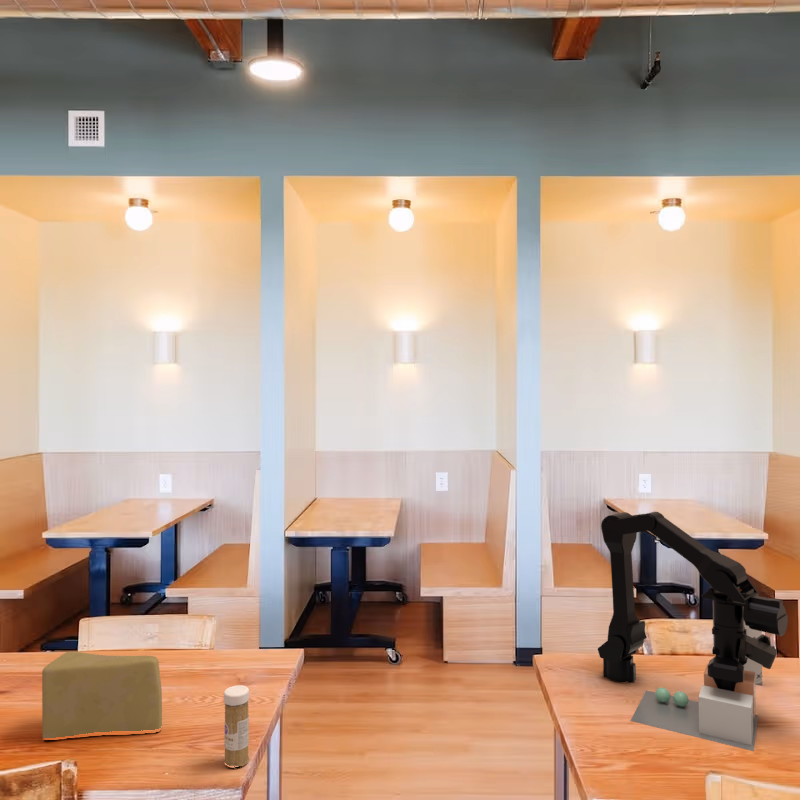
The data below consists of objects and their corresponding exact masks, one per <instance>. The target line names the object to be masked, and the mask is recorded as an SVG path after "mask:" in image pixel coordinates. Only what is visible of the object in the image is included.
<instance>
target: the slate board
mask: <svg viewBox="0 0 800 800" xmlns="http://www.w3.org/2000/svg"><path fill="white" fill-rule="evenodd" d="M655 693H656V691H651V690H645V692H644V693H643V696H642V698H641V699H640V701H639V704H638V706H637V707H636V708H635V711H634V713H633V715H632V717H631V719H630V722H633V723H638V724H642V725H645V726H650V727H653V728H658V729H662V730H665V731H670V732H673V733H679V734H683V735H686V736H690V737H694V738H700V739H702V740H706V741H710V742H715V743H718V744H724V745H727V746H730V747H731V746H732V747H735V748H739V749H744V750H748V751H752V752H754V751H755V746H756V737H757V729H758V719H759V714H756V713H755V717H754V718H753V738H752V745H748V744H744V743H740V742H736V741H732V740H727V739H723V738H719V737H715V736H711V735H707V734H703V733H699V701H698V700H697V701H696V700H692V699H689V702H688V704H687V705H686V706H684V707H680V706H678V705H676V703H675V702H674V700H673V696H674V695H670V700H669V701H668V702H666V703H662V702H660V701H659V700H658V699H657V698H656V695H655Z"/></svg>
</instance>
